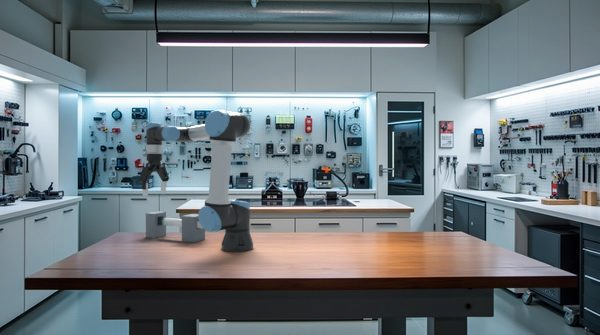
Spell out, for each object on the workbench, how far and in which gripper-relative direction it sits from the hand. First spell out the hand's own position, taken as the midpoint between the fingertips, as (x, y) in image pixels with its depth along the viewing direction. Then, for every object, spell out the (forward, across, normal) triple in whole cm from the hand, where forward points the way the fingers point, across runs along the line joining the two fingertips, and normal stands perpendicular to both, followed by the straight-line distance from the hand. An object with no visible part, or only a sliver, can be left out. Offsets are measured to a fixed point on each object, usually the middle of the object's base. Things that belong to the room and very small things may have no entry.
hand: (154, 194), depth 215 cm
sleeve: (+24, -11, +16) cm, 31 cm away
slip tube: (+18, -11, +9) cm, 23 cm away
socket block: (+24, -12, -9) cm, 29 cm away
